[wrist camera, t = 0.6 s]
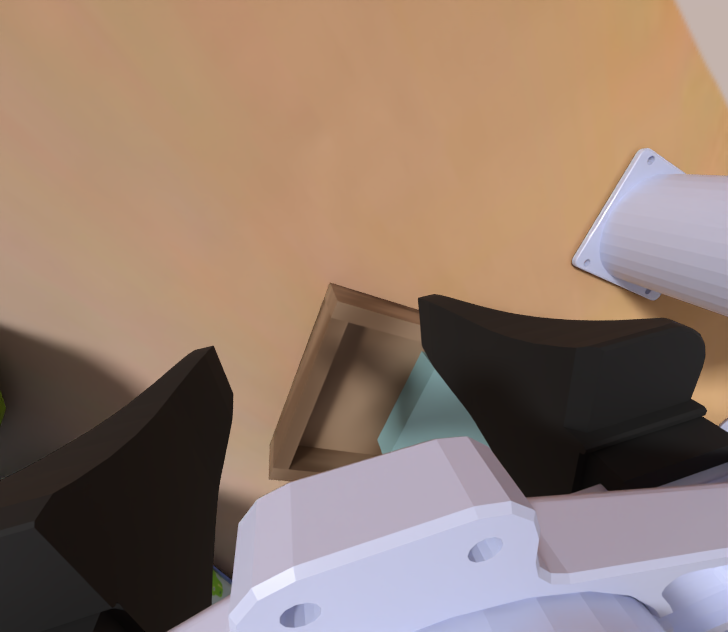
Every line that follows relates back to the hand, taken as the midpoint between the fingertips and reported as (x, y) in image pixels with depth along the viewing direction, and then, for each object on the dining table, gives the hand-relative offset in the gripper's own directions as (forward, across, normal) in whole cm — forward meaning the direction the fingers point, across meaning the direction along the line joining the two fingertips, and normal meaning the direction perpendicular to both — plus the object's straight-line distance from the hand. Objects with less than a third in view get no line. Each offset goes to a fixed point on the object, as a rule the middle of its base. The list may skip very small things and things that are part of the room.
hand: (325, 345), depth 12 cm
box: (+9, -6, +12) cm, 16 cm away
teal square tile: (+8, -8, +13) cm, 17 cm away
